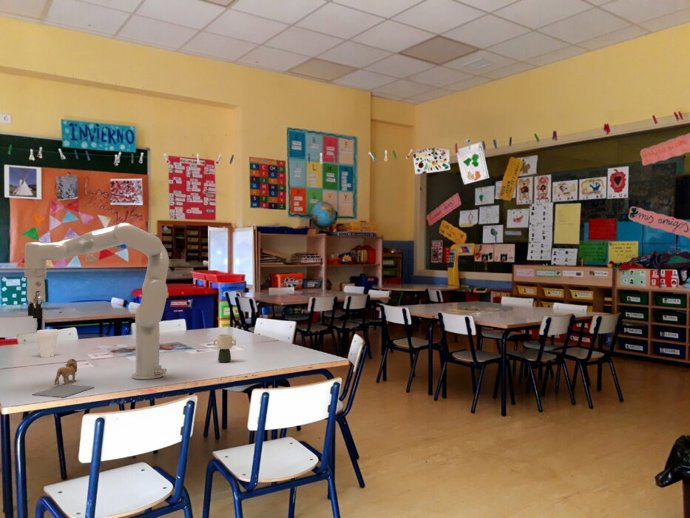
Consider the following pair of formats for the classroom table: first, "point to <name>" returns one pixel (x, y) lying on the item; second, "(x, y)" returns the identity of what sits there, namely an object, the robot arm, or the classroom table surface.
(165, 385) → the classroom table surface
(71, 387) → the felt mat
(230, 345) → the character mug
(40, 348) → the foam cup
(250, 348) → the classroom table surface
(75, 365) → the lion figurine
